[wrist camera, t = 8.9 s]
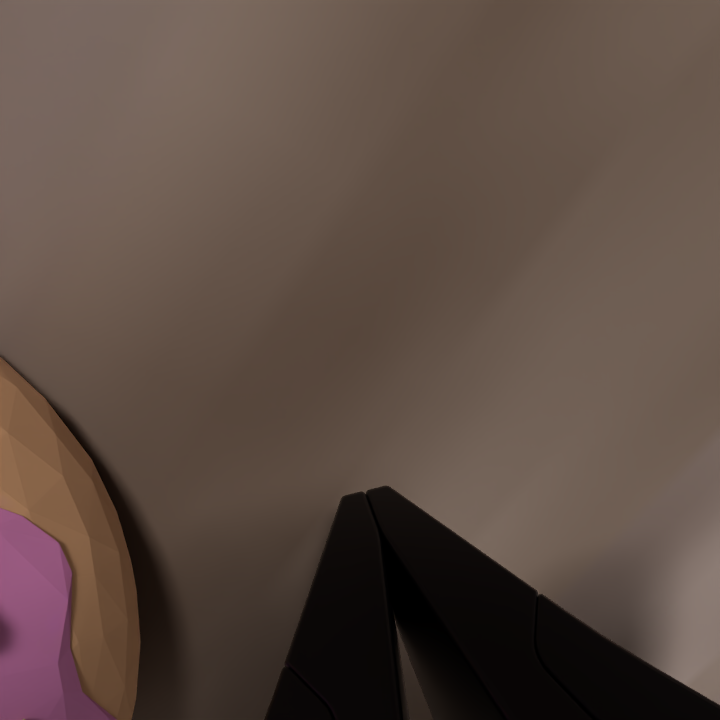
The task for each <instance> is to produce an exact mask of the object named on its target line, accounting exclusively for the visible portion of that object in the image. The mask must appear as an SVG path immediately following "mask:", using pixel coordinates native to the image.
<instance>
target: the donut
mask: <svg viewBox="0 0 720 720" xmlns="http://www.w3.org/2000/svg"><path fill="white" fill-rule="evenodd" d="M140 643H141V642H140V629H139V616H138V603H137V591H136V585H135V579H134V573H133V568H132V563H131V559H130V556H129V552H128V549H127V545H126V541H125V538H124V534H123V531H122V528H121V524H120V521H119V518H118V514H117V511H116V509H115V507H114V505H113V503H112V501H111V499H110V497H109V495H108V493H107V490H106V488H105V486H104V484H103V482H102V480H101V478H100V476H99V474H98V472H97V470H96V467H95V465H94V463H93V461H92V459H91V458H90V457H89V455H88V454H87V453H86V451H85V450H84V449H83V447H82V446H81V445H80V444H79V442H78V441H77V440H76V438H75V437H74V436H73V434H72V433H71V432H70V430H69V429H68V428H67V427H66V425H65V424H64V423H63V421H62V420H61V419H60V417H59V416H58V415H57V413H56V412H55V411H54V410H53V408H52V407H51V406H50V404H49V403H48V402H47V400H46V399H45V398H44V397H43V396H42V395H41V394H40V393H39V392H38V391H36V390H35V389H34V388H33V387H32V386H31V385H30V384H29V383H28V382H27V381H26V380H25V379H24V378H23V377H22V376H20V375H19V374H18V373H17V372H16V371H15V370H14V369H13V368H12V367H11V366H10V365H9V364H8V363H7V362H6V361H4V360H3V359H2V358H1V357H0V720H132V715H133V711H134V706H135V702H136V695H137V682H138V669H139V656H140Z"/></svg>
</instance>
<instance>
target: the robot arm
mask: <svg viewBox="0 0 720 720" xmlns="http://www.w3.org/2000/svg"><path fill="white" fill-rule="evenodd" d="M394 617H395V618H394ZM395 621H396V624H397V627H398V630H399V632H400V635H401V638H402V641H403V643H404V646H405V648H406V651H407V653H408V656H409V658H410V661H411V664H412V666H413V669H414V671H415V674H416V676H417V679H418V681H419V684H420V686H421V689H422V692H423V694H424V697H425V699H426V702H427V704H428V707H429V709H430V712H431V714H432V717H433V720H720V705H719V704H717V703H715V702H714V701H712V700H710V699H708V698H707V697H705V696H703V695H702V694H700V693H698V692H696V691H695V690H693V689H691V688H690V687H688V686H686V685H684V684H683V683H681V682H679V681H678V680H676V679H674V678H672V677H671V676H669V675H667V674H666V673H664V672H662V671H660V670H659V669H657V668H655V667H654V666H652V665H650V664H649V663H647V662H645V661H644V660H642V659H640V658H639V657H637V656H635V655H634V654H632V653H631V652H629V651H627V650H626V649H624V648H622V647H621V646H619V645H617V644H616V643H614V642H612V641H611V640H609V639H608V638H606V637H604V636H603V635H601V634H600V633H598V632H597V631H595V630H594V629H592V628H591V627H589V626H588V625H586V624H585V623H583V622H582V621H580V620H579V619H577V618H576V617H574V616H573V615H571V614H570V613H568V612H567V611H565V610H564V609H563V608H561V607H560V606H558V605H557V604H556V603H554V602H553V601H551V600H550V599H548V598H547V597H546V596H544V595H543V594H539V595H538V592H537V590H535V589H534V588H532V587H531V586H530V585H528V584H527V583H525V582H524V581H523V580H521V579H520V578H518V577H517V576H515V575H514V574H513V573H511V572H510V571H508V570H507V569H506V568H504V567H503V566H501V565H500V564H498V563H497V562H496V561H494V560H493V559H491V558H490V557H489V556H487V555H486V554H484V553H483V552H481V551H480V550H479V549H477V548H476V547H474V546H473V545H472V544H470V543H469V542H467V541H466V540H464V539H463V538H462V537H460V536H459V535H457V534H456V533H455V532H453V531H452V530H450V529H449V528H447V527H446V526H445V525H443V524H442V523H440V522H439V521H438V520H436V519H435V518H433V517H432V516H430V515H429V514H428V513H426V512H425V511H423V510H422V509H421V508H419V507H418V506H416V505H415V504H413V503H412V502H411V501H409V500H408V499H406V498H405V497H404V496H402V495H401V494H399V493H398V492H396V491H395V490H394V489H392V488H391V487H389V486H382V487H378V488H374V489H370V490H368V491H367V492H366V494H365V493H364V492H357V493H353V494H349V495H345V496H343V497H342V498H341V501H340V504H339V506H338V509H337V512H336V515H335V518H334V521H333V524H332V527H331V530H330V533H329V536H328V538H327V541H326V544H325V547H324V550H323V553H322V556H321V559H320V562H319V565H318V568H317V570H316V573H315V576H314V579H313V582H312V585H311V588H310V591H309V594H308V597H307V600H306V602H305V605H304V608H303V611H302V614H301V617H300V620H299V623H298V626H297V629H296V632H295V634H294V637H293V640H292V643H291V646H290V649H289V652H288V655H287V658H286V661H285V667H284V668H283V669H282V671H281V674H280V677H279V680H278V683H277V686H276V689H275V692H274V695H273V698H272V700H271V703H270V706H269V708H268V711H267V714H266V716H265V719H264V720H409V713H408V706H407V699H406V692H405V685H404V678H403V671H402V664H401V657H400V650H399V643H398V637H397V631H396V624H395Z"/></svg>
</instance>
